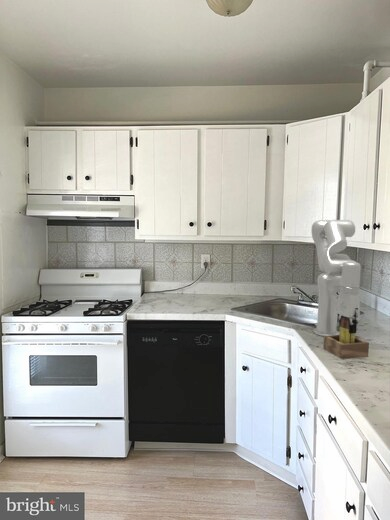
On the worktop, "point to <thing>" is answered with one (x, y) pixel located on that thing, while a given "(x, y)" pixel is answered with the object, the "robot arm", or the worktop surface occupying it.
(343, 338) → the sauce bottle
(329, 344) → the walnut sleeve
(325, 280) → the robot arm
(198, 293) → the worktop surface
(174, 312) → the worktop surface
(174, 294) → the worktop surface
